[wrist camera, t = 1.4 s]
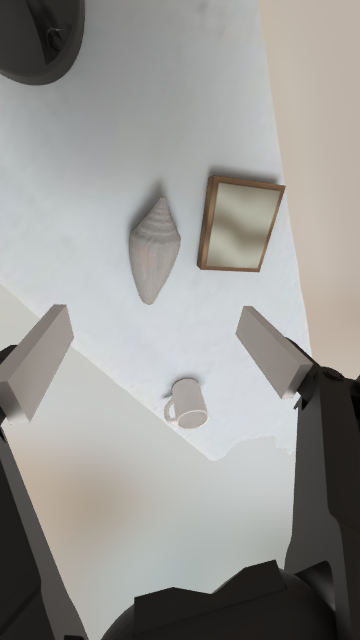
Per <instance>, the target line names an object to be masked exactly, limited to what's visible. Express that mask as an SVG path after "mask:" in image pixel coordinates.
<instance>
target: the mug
mask: <svg viewBox="0 0 360 640" xmlns="http://www.w3.org/2000/svg"><path fill="white" fill-rule="evenodd" d="M172 396H173V398H171V399H170V400H169V401H168V402H167V404H166V406H165V409H164V417H165V419H166V421H167V422H168V423H170V424H177V426H178V427H179V428H181V429H184V430H192V429H197V428H199V427H201V426H203V425H204V424H205V423H206V422H207V421H208V419H209V415H208V412H207V409H206V405H205V402H204V399H203V396H202V392H201V389H200V386H199V384H198V382H197V381H195V380H193V379H188V378H187V379H182V380H179V381H178V382H176V383H175V384H174V386H173V388H172ZM173 403H174V409H175V416H176V417H175V418H171V417H170V416H169V408H170V406H171V405H172V404H173Z"/></svg>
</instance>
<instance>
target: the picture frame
mask: <svg viewBox="0 0 360 640" xmlns="http://www.w3.org/2000/svg"><path fill="white" fill-rule="evenodd" d="M285 187H286V186H284V185H277V184H270V183H263V182H256V181H249V180H242V179H235V178H228V177H221V176H212V177H210V178H208V186H207V193H206V201H205V208H204V215H203V223H202V230H201V238H200V245H199V252H198V260H197V266H198V267H199V268H200V269H201V270H221V271H243V272H259V271H260V268H261V265H262V262H263V258H264V255H265V252H266V249H267V245H268V242H269V239H270V236H271V232H272V229H273V226H274V223H275V219H276V216H277V213H278V210H279V206H280V203H281V200H282V197H283V193H284V190H285Z"/></svg>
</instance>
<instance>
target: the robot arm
mask: <svg viewBox="0 0 360 640" xmlns="http://www.w3.org/2000/svg"><path fill="white" fill-rule="evenodd" d="M84 20H85V5H84V0H0V74H2V75H3V76H5V77H7V78H9V79H12V80H14V81H17V82H20V83H23V84H28V85H45V84H49V83H52V82H54V81H56V80H58V79H59V78H61V77H62V76H63V75H64V74H65V73H67V71H68V70H69V69H70V68H71V66H72V65H73V63H74V61H75V59H76V57H77V55H78V52H79V49H80V46H81V42H82V37H83V31H84ZM236 336H237V337H238V338H239V340H240V341H241V343H242V344H243V346H244V347H245V348H246V350H247V351H248V353H249V354H250V355H251V357H252V358H253V360H254V361H255V363H256V364H257V365H258V367H259V368H260V370H261V371H262V372H263V374H264V375H265V377H266V378H267V380H268V381H269V382H270V384H271V385H272V387H273V388H274V389H275V391H276V392H277V394H278V395H279V397H280V398H281V399H289V398H293V397H294V395H295V393H296V392H298V393H299V394H300V395H301V397H300V398H299V400H298V401H297V403H296V405H295V406H294V408H293V409H295V410H296V408H297V407H298V423H297V444H296V465H295V466H296V467H295V484H294V505H293V525H292V537H291V542H290V544H289V547H288V550H287V553H286V558H285V566H284V570H283V569H280V568H278V565H277V562H276V560H272V561H268V562H264V563H261V564H257V565H253V566H249V567H246V568H244V569H242V570H241V571H240V572H238V573H237V574H235V575H234V576H233V577H231V578H230V579H229V580H228V581H226V582H225V583H224V584H222V585H221V586H220V587H219V588H218V589H217V590H215V591H214V592H213V593H212V594H208V593H202V592H197V591H191V590H186V589H180V588H175V587H172V588H168V589H164V590H160V591H157V592H153V593H149V594H145V595H142V596H138V597H135V598H134V604H133V605H132V606H131V607H129V608H128V609H127V610H126V611H124V612H123V613H122V614H121V615H120V616H119V617H118V618H117V619H116V620H115V622H114V623H113V624H112V625H111V627H110V628H109V629H108V630H107V632H106V633H105V634H104V636H103V637H102V639H101V640H360V375H359V376H358V378H357V379H356V380H353V379H348V378H345V377H344V376H343V375H342V374H341V373H339V372H338V371H336V370H334V369H332V368H329V367H321V366H320V365H319V364H318V363H316V362H315V361H314V360H313V359H312V358H311V357H310V356H309V355H308V354H307V353H306V352H304V351H303V350H302V349H301V348H300V347H299V346H298V345H297V344H296V343H295V342H293V341H292V340H290V339H288V338H287V337H284V336H283V335H282V334H281V333H280V332H279V331H278V330H277V329H276V328H275V327H274V326H273V325H272V324H270V323H269V322H268V321H267V320H266V319H265V318H264V317H263V316H262V315H261V314H260V313H259V312H258V311H257V310H256V309H255V308H253V307H252V306H243V310H242V313H241V317H240V320H239V324H238V327H237V330H236ZM73 338H74V335H73V331H72V327H71V323H70V318H69V314H68V310H67V306H66V305H53V306H52V307H51V308H50V309H49V311H48V312H47V313H46V314H45V315H44V316H43V317H42V318H41V320H40V321H39V322H38V323H37V324H36V325H35V326H34V327H33V329H32V330H31V331H30V332H29V333H28V334H27V335H26V337H25V338H24V339H23V340H22V341H21V342H20V343H19V344H18V345H10V346H8V347H7V348H5V349H4V350H2V351H0V425H1V423H2V422H3V420H4V419H5V417H6V418H7V420H8V421H9V423H10V424H11V425H12V424H22V423H29V422H30V421H31V419H32V417H33V415H34V414H35V412H36V410H37V407H38V406H39V404H40V402H41V400H42V398H43V396H44V394H45V392H46V390H47V389H48V387H49V384H50V383H51V381H52V379H53V377H54V375H55V373H56V371H57V369H58V367H59V365H60V364H61V362H62V360H63V358H64V356H65V354H66V352H67V350H68V348H69V346H70V344H71V342H72V340H73ZM0 640H89V639H88V637H87V634H86V632H85V629H84V627H83V624H82V622H81V619H80V617H79V615H78V613H77V611H76V608H75V606H74V605H73V603H72V601H71V599H70V598H69V596H68V594H67V591H66V589H65V587H64V584H63V581H62V579H61V577H60V574H59V571H58V569H57V566H56V564H55V561H54V559H53V556H52V553H51V551H50V548H49V546H48V543H47V541H46V538H45V536H44V533H43V531H42V528H41V525H40V523H39V521H38V518H37V515H36V513H35V510H34V508H33V505H32V503H31V500H30V498H29V495H28V493H27V490H26V487H25V485H24V482H23V480H22V477H21V475H20V472H19V469H18V467H17V465H16V462H15V459H14V457H13V454H12V452H11V449H10V447H9V444H8V441H7V439H6V436H5V434H4V431H3V429H2V428H1V426H0Z"/></svg>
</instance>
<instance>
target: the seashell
mask: <svg viewBox="0 0 360 640" xmlns="http://www.w3.org/2000/svg"><path fill="white" fill-rule="evenodd" d="M180 242H181V238H180V235H179V233H178V231H177V229H176V226H175V224H174V222H173V219H172V217H171V214H170V212H169V207H168V204H167V200H166V197H165V196H162V197H161V198H160V199H159V201H158V202H157V203H156V204H155V205H154V207H153V208H152V210H151V211H150V212H149V214H148V215H147V216H145V218H144V219H143V220H142V221H141V222H140V223H139V224H138V226H137V227H136V228H135V229H134V230H133V231H132V232H131V235H130V240H129V252H130V261H131V268H132V274H133V278H134V281H135V284H136V288H137V291H138V293H139V296H140V298H141V300H142V301H143V302H144V303H146V304H149V305H150V304H153V303H154V301H155V299H156V297H157V295H158V293H159V292H160V290H161V288H162V287H163V285H164V283H165V282H166V280H167V278H168V276H169V274H170V272H171V270H172V267H173V265H174V263H175V260H176V257H177V255H178V251H179V247H180Z"/></svg>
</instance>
